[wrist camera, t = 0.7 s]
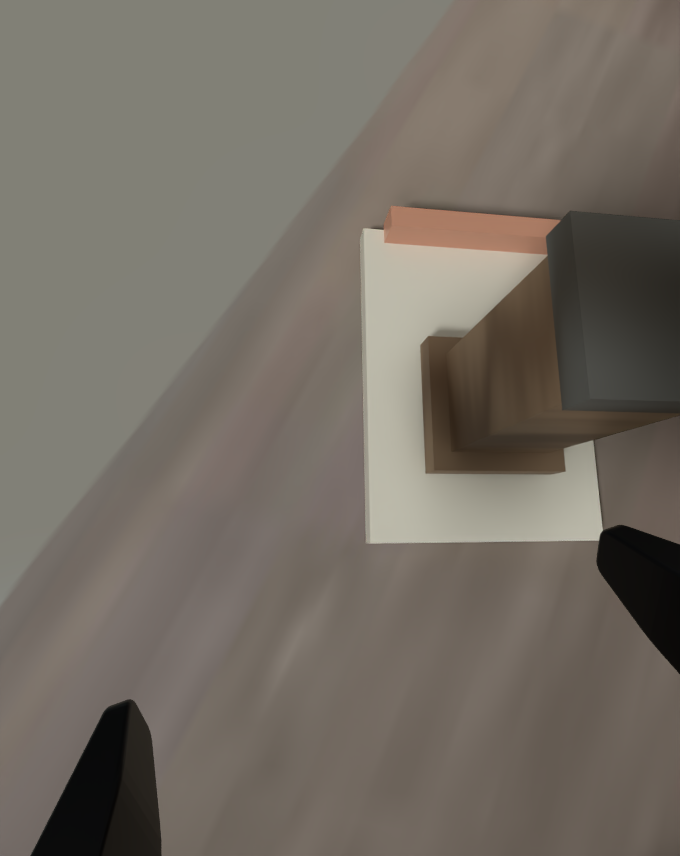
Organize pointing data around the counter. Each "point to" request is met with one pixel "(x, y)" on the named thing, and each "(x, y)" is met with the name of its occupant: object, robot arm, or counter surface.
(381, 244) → the thin white base plate
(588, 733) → the counter surface
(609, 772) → the counter surface
